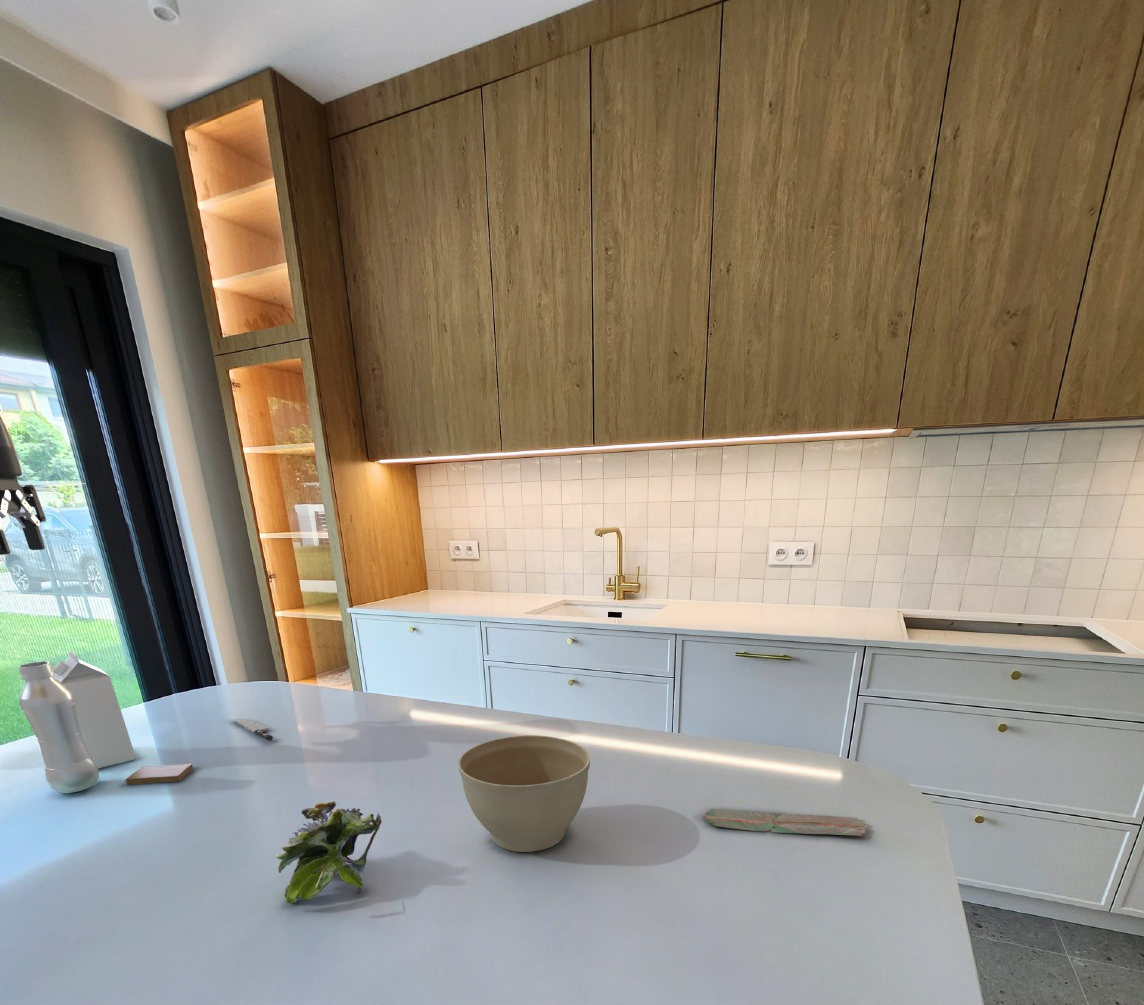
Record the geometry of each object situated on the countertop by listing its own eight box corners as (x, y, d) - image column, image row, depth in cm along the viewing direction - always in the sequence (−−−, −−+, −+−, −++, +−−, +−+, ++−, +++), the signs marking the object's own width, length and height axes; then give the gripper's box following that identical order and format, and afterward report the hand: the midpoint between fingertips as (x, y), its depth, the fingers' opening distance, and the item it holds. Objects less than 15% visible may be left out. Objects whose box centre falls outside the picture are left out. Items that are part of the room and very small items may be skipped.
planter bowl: (527, 884, 74) (522, 798, 69) (440, 839, 84) (431, 761, 80) (617, 831, 84) (616, 753, 80) (530, 796, 95) (526, 726, 90)
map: (702, 812, 89) (702, 806, 89) (862, 817, 84) (863, 811, 84) (700, 830, 85) (700, 824, 84) (870, 836, 80) (870, 829, 80)
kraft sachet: (127, 784, 103) (125, 779, 103) (143, 772, 108) (141, 766, 107) (179, 781, 104) (177, 775, 103) (193, 769, 108) (191, 763, 108)
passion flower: (338, 905, 80) (364, 810, 82) (389, 923, 73) (416, 819, 75) (248, 894, 72) (280, 789, 74) (297, 913, 65) (330, 796, 67)
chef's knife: (247, 717, 133) (232, 720, 131) (246, 712, 132) (231, 715, 130) (284, 739, 120) (268, 742, 118) (283, 733, 120) (267, 736, 118)
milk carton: (126, 749, 118) (93, 645, 110) (136, 759, 113) (102, 651, 105) (79, 761, 113) (41, 653, 106) (88, 772, 108) (49, 660, 101)
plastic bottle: (41, 797, 99) (-8, 670, 92) (79, 779, 106) (36, 658, 98) (77, 799, 98) (31, 670, 91) (113, 780, 105) (72, 658, 97)
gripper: (-9, 448, 109) (26, 549, 115) (-79, 442, 96) (-36, 557, 102) (38, 446, 109) (70, 547, 116) (-25, 441, 96) (14, 555, 103)
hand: (20, 552), depth 109 cm, fingers open, 8 cm apart
